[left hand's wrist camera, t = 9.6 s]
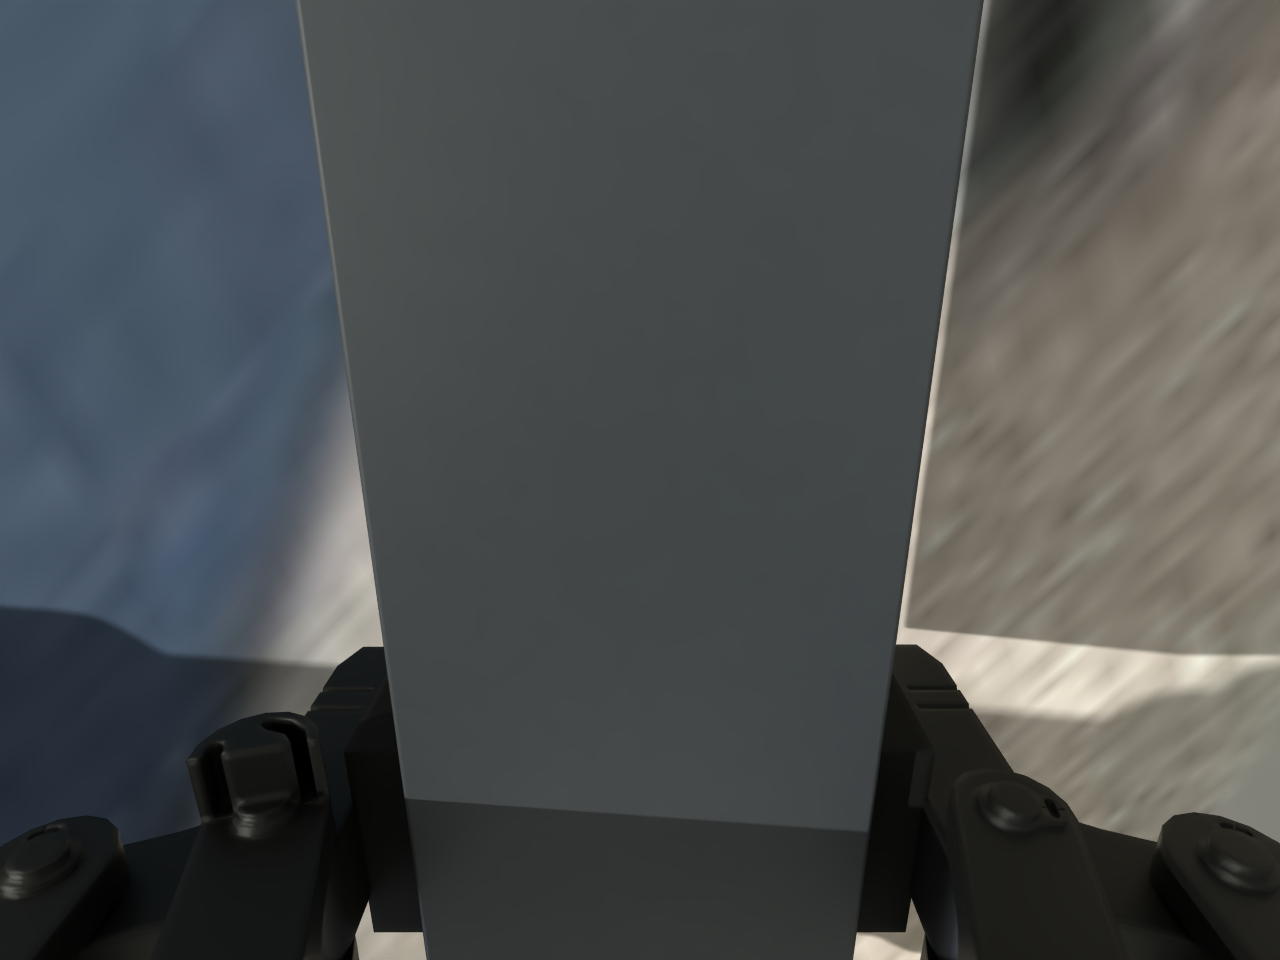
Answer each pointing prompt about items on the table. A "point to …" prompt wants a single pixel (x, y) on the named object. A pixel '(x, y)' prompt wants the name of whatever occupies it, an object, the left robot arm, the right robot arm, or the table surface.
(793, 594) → the post
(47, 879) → the left robot arm
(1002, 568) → the table surface
